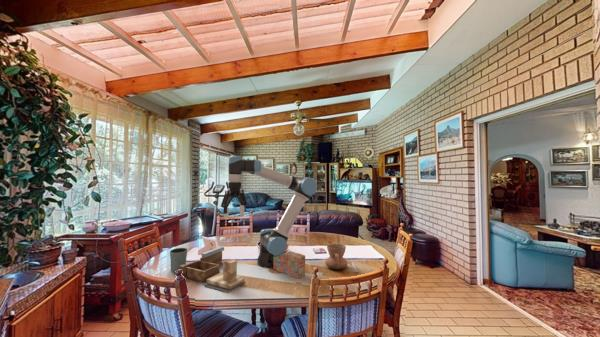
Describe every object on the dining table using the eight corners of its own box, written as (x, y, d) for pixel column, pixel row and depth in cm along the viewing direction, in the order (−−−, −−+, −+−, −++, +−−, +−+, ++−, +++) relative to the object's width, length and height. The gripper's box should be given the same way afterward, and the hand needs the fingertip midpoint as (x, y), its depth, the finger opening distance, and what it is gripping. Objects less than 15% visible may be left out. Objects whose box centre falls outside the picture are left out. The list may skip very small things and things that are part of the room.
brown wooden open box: (237, 266, 160) (237, 254, 160) (199, 284, 132) (199, 271, 133) (217, 261, 168) (217, 250, 168) (177, 278, 140) (177, 265, 140)
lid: (244, 282, 135) (244, 259, 135) (230, 290, 125) (230, 266, 125) (221, 276, 142) (221, 254, 142) (206, 284, 132) (206, 260, 133)
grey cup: (182, 264, 162) (183, 246, 162) (190, 268, 155) (190, 249, 156) (166, 269, 154) (167, 250, 154) (173, 273, 147) (174, 253, 148)
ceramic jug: (325, 262, 168) (325, 241, 169) (346, 263, 166) (346, 242, 167) (324, 272, 150) (324, 249, 151) (348, 274, 148) (348, 250, 149)
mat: (245, 282, 136) (245, 281, 136) (227, 293, 123) (227, 291, 123) (223, 276, 143) (223, 275, 143) (204, 286, 131) (204, 285, 131)
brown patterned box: (272, 269, 155) (273, 250, 155) (279, 266, 160) (280, 248, 160) (298, 279, 141) (298, 257, 141) (305, 275, 146) (305, 255, 146)
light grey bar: (224, 250, 168) (224, 246, 168) (204, 257, 153) (204, 253, 153) (221, 249, 169) (221, 246, 169) (201, 257, 154) (201, 253, 154)
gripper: (243, 181, 158) (243, 214, 157) (214, 182, 136) (213, 220, 135) (252, 181, 155) (252, 214, 154) (224, 182, 132) (224, 221, 132)
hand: (234, 217), depth 145 cm, fingers open, 13 cm apart
